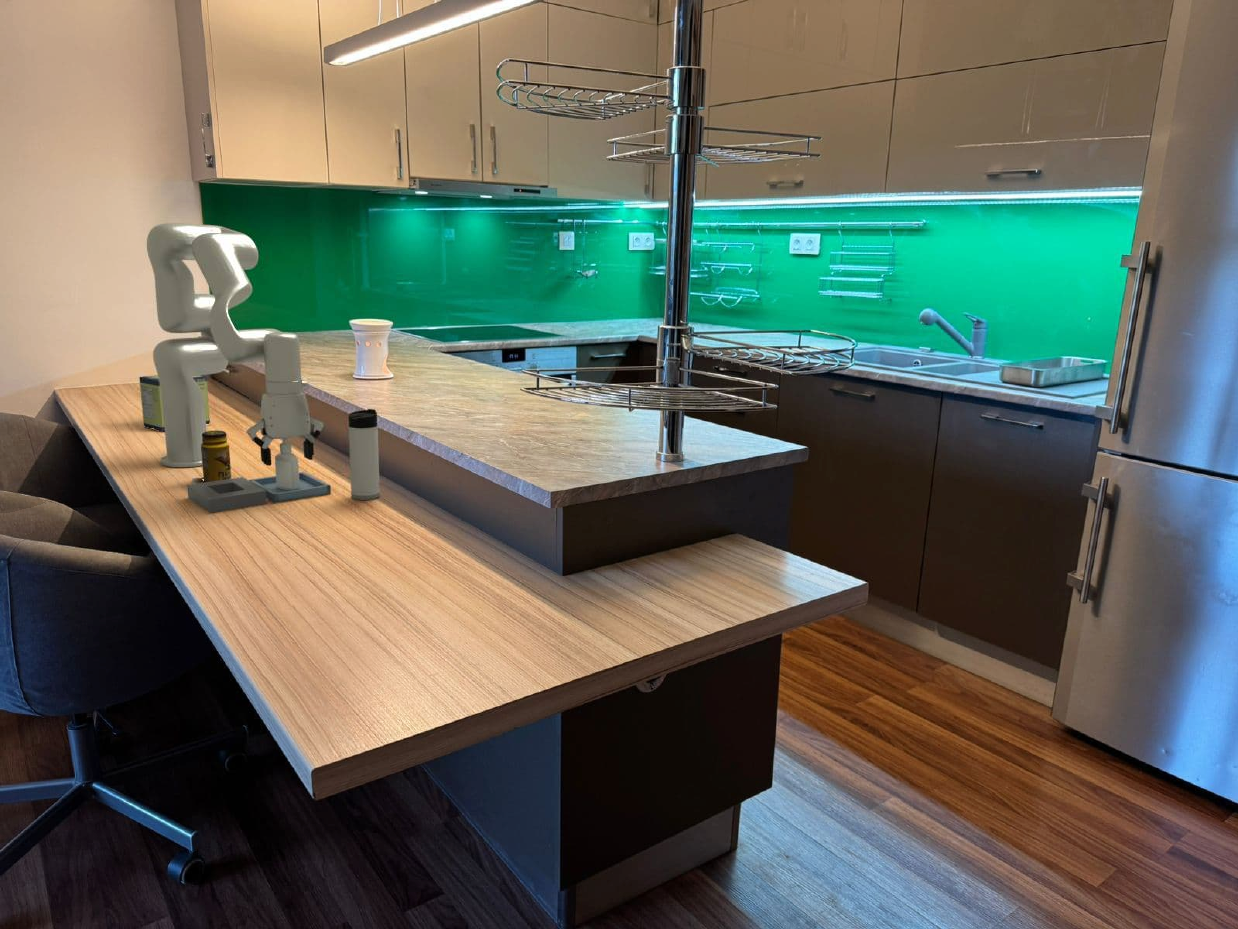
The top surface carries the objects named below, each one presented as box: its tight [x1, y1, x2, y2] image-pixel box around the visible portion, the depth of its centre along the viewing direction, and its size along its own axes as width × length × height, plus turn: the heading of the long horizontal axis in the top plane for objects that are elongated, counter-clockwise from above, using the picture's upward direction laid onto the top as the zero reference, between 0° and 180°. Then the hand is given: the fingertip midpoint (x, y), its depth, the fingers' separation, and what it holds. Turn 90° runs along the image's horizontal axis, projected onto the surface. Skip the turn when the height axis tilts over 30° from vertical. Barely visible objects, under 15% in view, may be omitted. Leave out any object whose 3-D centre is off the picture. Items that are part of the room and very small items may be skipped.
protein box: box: [139, 374, 211, 432], centre depth 257 cm, size 10×16×16 cm
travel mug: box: [348, 408, 381, 501], centre depth 192 cm, size 6×7×20 cm
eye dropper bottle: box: [274, 438, 300, 491], centre depth 195 cm, size 4×6×12 cm
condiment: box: [191, 429, 233, 484], centre depth 201 cm, size 7×8×12 cm
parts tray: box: [248, 471, 332, 504], centre depth 197 cm, size 15×13×2 cm
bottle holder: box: [186, 476, 268, 514], centre depth 187 cm, size 14×12×3 cm
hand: (288, 461), depth 195 cm, fingers open, 9 cm apart
